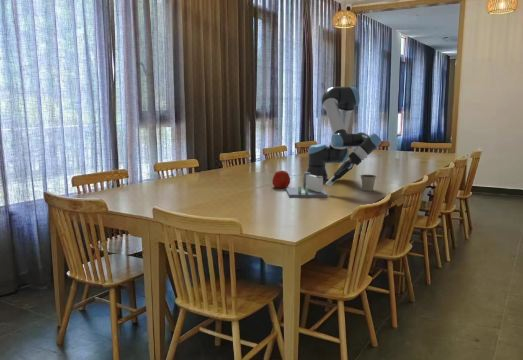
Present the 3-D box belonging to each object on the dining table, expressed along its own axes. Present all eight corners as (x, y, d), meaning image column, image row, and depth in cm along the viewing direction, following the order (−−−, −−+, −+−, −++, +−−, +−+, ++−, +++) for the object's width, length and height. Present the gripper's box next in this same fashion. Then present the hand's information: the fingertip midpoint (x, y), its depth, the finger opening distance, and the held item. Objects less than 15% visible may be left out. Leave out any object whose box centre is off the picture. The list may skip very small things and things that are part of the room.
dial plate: (285, 190, 267) (285, 180, 266) (320, 189, 267) (321, 180, 266) (289, 197, 245) (289, 187, 244) (327, 197, 246) (327, 187, 245)
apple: (288, 189, 269) (289, 171, 267) (270, 188, 271) (271, 171, 269) (291, 186, 279) (291, 169, 277) (273, 185, 281) (274, 168, 279)
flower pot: (364, 191, 262) (365, 177, 261) (356, 189, 271) (357, 174, 270) (378, 191, 265) (379, 176, 263) (370, 188, 274) (371, 174, 272)
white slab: (302, 187, 264) (302, 172, 263) (307, 186, 266) (308, 171, 264) (317, 192, 250) (317, 176, 249) (323, 191, 252) (323, 175, 250)
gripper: (365, 162, 246) (334, 192, 248) (359, 159, 259) (329, 187, 261) (356, 152, 245) (324, 182, 247) (350, 150, 258) (320, 178, 260)
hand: (327, 185), depth 254 cm, fingers closed
